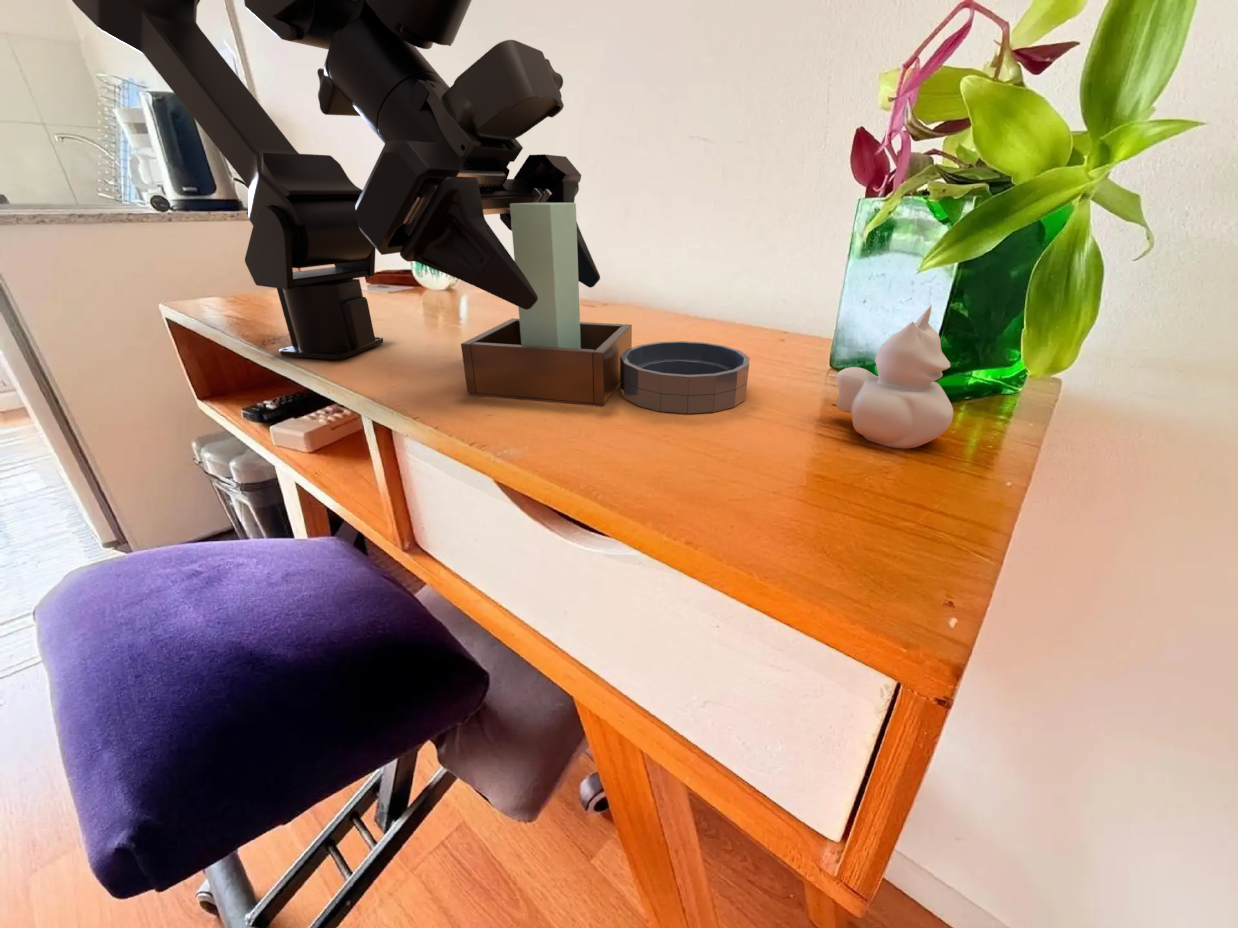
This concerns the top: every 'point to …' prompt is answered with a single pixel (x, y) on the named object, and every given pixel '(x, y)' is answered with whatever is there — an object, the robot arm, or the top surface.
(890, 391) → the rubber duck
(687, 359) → the bowl
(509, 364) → the holder
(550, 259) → the tall sage green pillar
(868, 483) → the top surface
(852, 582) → the top surface
